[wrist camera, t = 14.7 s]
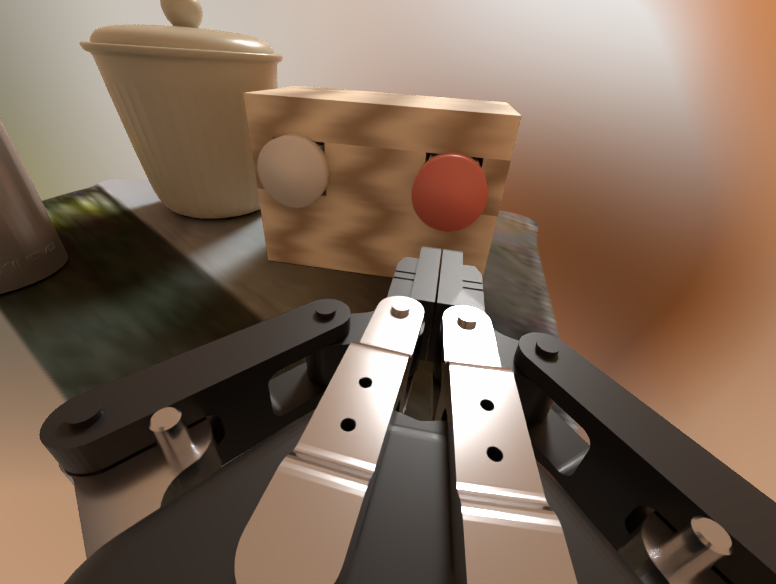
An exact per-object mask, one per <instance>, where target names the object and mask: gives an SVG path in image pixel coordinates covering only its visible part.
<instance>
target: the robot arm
mask: <svg viewBox="0 0 776 584" xmlns="http://www.w3.org/2000/svg"><path fill="white" fill-rule="evenodd" d="M440 256H441V248H434V247H427V246H422V248H421V252H420V257H419V258H412V257H405V258H404V259H402V260H401V261H400V262H398V265H397V268H396V272H395V274H394V278H393V280H392V283H391V286H390V289H389V292H388V295H387V298H385V299H383V300H382V301H381V302H380V303H379V304H378V306H377V308H376V310H374V311H371V312H367V313H354V314H351V313H350V308H349V307H348V306H347V305H346V304H345V303H343V302H341V301H339V300H335V299H320V300H316V301H313V302H310V303H308V304H305V305H303V306H300V307H298V308H295V309H293V310H290V311H288V312H285V313H283V314H280V315H278V316H275V317H273V318H270V319H268V320H265V321H263V322H260V323H258V324H255V325H253V326H250V327H248V328H245V329H243V330H240V331H238V332H235V333H233V334H230V335H228V336H225V337H223V338H220V339H218V340H215V341H213V342H210V343H208V344H205V345H203V346H200V347H198V348H195V349H193V350H190V351H188V352H185V353H183V354H180V355H178V356H175V357H173V358H170V359H168V360H165V361H163V362H160V363H158V364H155V365H153V366H150V367H148V368H145V369H143V370H140V371H138V372H135V373H133V374H130V375H128V376H125V377H123V378H120V379H118V380H115V381H113V382H110V383H108V384H105V385H103V386H100V387H98V388H95V389H93V390H90V391H88V392H85V393H83V394H80V395H78V396H76V397H74V398H72V399H70V400H68V401H67V402H65V403H64V404H62V405H61V406H59V407H58V408H57V409H55V411H53V412H52V413H51V414H50V415H49V416H48V418H47V419H46V420H45V422H44V423H43V425H42V427H41V429H40V440H41V442H42V443H43V444H44V446H45V447H46V448H47V449H48V451H49V452H50V453H51V454H52V455H53V456H54V458H55V459H56V460H57V461H58V463H59V467H60V469H61V471H62V472H63V473H64V474H65V475H66V477H67V478H68V479H69V480H70V481H71V483H72V484H73V485H74V486H75V492H76V498H77V504H78V510H79V516H80V521H81V527H82V533H83V540H84V546H85V551H86V557H87V560H86V561H85V562H84V563H83V564H82V565H81V566H80V567H79V568H78V569H76V570H75V572H74V573H73V574H72V575H71V576H70V577H69V579H68V580H67V581H66V582H65V583H64V584H776V503H775V502H774V501H773V500H772V499H770V498H769V497H768V496H766V495H765V494H764V493H762V492H761V491H759V490H758V489H757V488H755V487H754V486H753V485H752V484H750V483H749V482H748V481H746V480H745V479H744V478H742V477H741V476H740V475H738V474H737V473H736V472H734V471H733V470H731V468H729V467H728V466H727V465H725V464H724V463H722V462H721V461H720V460H719V459H717V458H716V457H714V456H713V455H712V454H711V453H709V452H708V451H707V450H705V449H704V448H703V447H701V446H700V445H699V444H697V443H696V442H695V441H693V440H692V439H691V438H689V437H688V436H687V435H686V434H684V433H683V432H681V431H680V430H679V429H678V428H676V427H675V426H674V425H672V424H671V423H670V422H668V421H667V420H666V419H664V418H663V417H662V416H660V415H659V414H658V413H656V412H655V411H654V410H652V409H651V408H650V407H648V406H647V405H646V404H644V403H643V402H642V401H640V400H639V399H638V398H636V397H635V396H634V395H633V394H631V393H630V392H629V391H627V390H626V389H625V388H623V387H622V386H621V385H619V384H618V383H617V382H615V381H614V380H613V379H611V378H610V377H609V376H607V375H606V374H605V373H603V372H602V371H601V370H599V369H598V368H597V367H595V366H594V365H593V364H591V363H590V362H589V361H588V360H586V359H585V358H584V357H582V356H581V355H580V354H578V353H577V352H576V351H574V350H573V349H572V348H570V347H569V346H568V345H566V344H565V343H564V342H562V341H561V340H559V339H557V338H555V337H553V336H551V335H548V334H544V333H528V334H525V335H523V336H522V337H521V339H520V341H517V340H515V339H512V338H509V337H507V336H504V335H502V334H500V333H499V332H497V331H496V330H494V329H493V328H492V323H491V320H490V319H489V317H488V316H487V315H486V314H485V308H484V296H483V284H482V274H481V273H480V272H479V270H478V269H477V268H476V267H475V266H468V265H463V251H456V250H449V249H443V251H442V257H441V263H440ZM67 260H68V254H67V252H66V250H65V248H64V246H63V244H62V242H61V240H60V238H59V236H58V234H57V232H56V230H55V228H54V226H53V224H52V222H51V220H50V218H49V215H48V213H47V211H46V209H45V207H44V205H43V203H42V201H41V199H40V197H39V195H38V193H37V191H36V189H35V187H34V185H33V183H32V181H31V179H30V177H29V175H28V173H27V171H26V169H25V167H24V165H23V163H22V161H21V159H20V157H19V155H18V153H17V151H16V149H15V147H14V145H13V143H12V141H11V139H10V137H9V135H8V133H7V131H6V129H5V127H4V125H3V123H2V121H1V119H0V294H2V293H5V292H9V291H12V290H16V289H19V288H22V287H25V286H27V285H30V284H33V283H35V282H37V281H40V280H42V279H44V278H46V277H48V276H50V275H51V274H53V273H55V272H56V271H58V270H59V269H60V268H61V267H63V266H64V264H65V263H66V262H67ZM439 264H440V269H439ZM438 272H439V275H438ZM437 280H438V281H437ZM431 322H432V325H431ZM430 328H431V333H430ZM429 334H430V341H429V349H428V357H427V361H430V362H434V364H433V371H432V377H431V392H430V421H419V420H416V419H413V418H411V417H409V416H407V415H405V411H406V408H407V404H408V400H409V396H410V392H411V389H412V385H413V381H414V375H415V372H416V371H417V369H418V364H419V360H424V361H425V357H426V351H427V345H428V339H429ZM304 357H306V362H305V363H303V364H301V365H299V366H297V367H295V368H293V369H291V370H289V371H287V372H285V373H283V374H281V375H279V376H277V377H275V378H273V379H272V380H270V378H271V377H272V376H273V375H274V374H275V373H276V372H277V371H279V370H280V369H282V368H284V367H286V366H288V365H290V364H292V363H294V362H296V361H298V360H300V359H302V358H304ZM269 380H270V381H269ZM553 402H555V403H556V404H557V405H558V406H559V407H561V408H562V409H563V410H564V411H565V412H566V413H567V414H568V415H569V416H570V417H571V418H572V419H574V420H575V421H576V422H577V423H578V424H579V425H580V426H581V427H582V428H583V429H584V430H585V431H586V433H587V435H588V437H589V439H590V445H588V443H586V442H585V441H584V440H583V439H582V438H581V437H580V436H579V435H578V434H577V433H576V432H575V431H574V430H573V429H572V428H571V427H570V426H569V425H568V424H567V423H565V422H564V421H563V420H562V419H561V418H560V417H559V416H558V415H557V414H556V413H555V412H554V411H553V410H552V409H551V406H552V404H553ZM314 409H316V410H315V412H314V413H312V414H309V415H306V414H308V413H309V412H311V411H312V410H314ZM304 415H306V416H304ZM274 433H275V434H274ZM271 435H272V436H271ZM266 438H267V439H266ZM263 440H264V441H263ZM261 441H262V442H261ZM260 442H261V443H260ZM258 443H259V444H258ZM256 444H258V445H256ZM255 445H256V446H255ZM253 446H255V447H253ZM251 447H253V448H251ZM250 448H251V449H250ZM248 449H250V450H248ZM246 450H248V451H247V452H245V451H246ZM243 452H245V453H244V454H242V455H241V456H239V457H238V458H236V459H234V460H233V461H231V462H230V463H228V464H227V465H225V466H224V467H222V468H221V466H222V465H223V464H225V463H227V462H228V461H230V460H232V459H233V458H235V457H237V456H238V455H240V454H241V453H243ZM220 468H221V469H220Z"/></svg>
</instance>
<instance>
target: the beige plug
mask: <svg viewBox="0 0 776 584" xmlns="http://www.w3.org/2000/svg"><path fill="white" fill-rule="evenodd" d="M257 167H258V174H259V178H260V180H261V183H262V185H263V187H264V188H265V190H266V191H267V192H268V194H269V195H270V196H271V197H272V198H273V199H275V200H276V201H277V202H279V203H281V204H283V205H285V206H288V207H293V208H301V207H305V206H308V205H310V204H312V203H313V202H314V201H315V200H316V199H317V198H319V197H320V196H321V195H322V194H323V193H324V191H325V190H326V188H327V186H328V183H329V179H330V168H329V164H328V161H327V158H326V156H325V145H324V142H315V141H312V140H311V139H309V138H308V137H305V136H303V135H300V134H286V135H283V136H280V137H278V138H275V139H273V140H271V141H269V142H268V143H267V144H266V145H265V146H264V147H263V148H262V150H261V152H260V154H259V157H258V166H257Z"/></svg>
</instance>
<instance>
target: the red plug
mask: <svg viewBox="0 0 776 584" xmlns="http://www.w3.org/2000/svg"><path fill="white" fill-rule="evenodd" d="M411 197H412V204H413V208H414V210H415V212H416V214H417V216H418V217H419V218H420V219H421V220H422V221H423V222H424V223H425V224H426V225H428V226H429V227H431V228H433V229H436V230H439V231H446V232H450V231H458V230H461V229H463V228H466V227H468V226H469V225H471V224H472V223H473V222H475V221H476V220H477V219H478V218H479V216H480V215H481V214H482V212H483V210H484V208H485V206H486V203H487V198H488V188H487V182H486V178H485V174H484V172H483V170H482V168H481V167H480V165H479V160H478V157H469V156H467V155H465V154H462V153H458V152H446V153H441V154H437V153H431V155H430V157H429V160H428V161H427V162H426V163H425V164H424V165H423V166H422V167H421V169H420V170H419V172H418V174H417V176H416V179H415V181H414V184H413V187H412V196H411Z"/></svg>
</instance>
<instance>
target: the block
mask: <svg viewBox="0 0 776 584" xmlns="http://www.w3.org/2000/svg"><path fill="white" fill-rule="evenodd" d="M243 94H244V100H245V107H246V114H247V121H248V127H249V134H250V141H251V147H252V154H253V161H254V168H255V174H256V181H257V188H258V195H259V201H260V208H261V215H262V221H263V228H264V235H265V242H266V248H267V255H268V260H271V261H278V262H285V263H292V264H299V265H306V266H314V267H321V268H328V269H335V270H342V271H349V272H356V273H363V274H370V275H377V276H384V277H391V278H394V274H395V272H396V268H397V265H398V262H400V261H401V260H402V259H404V258H405V257H412V258H419V257H420V252H421V248H422V246H427V247H434V248H441V256H440V263H441V257H442V251H443V249H449V250H456V251H463V265H468V266H475V267H476V268H477V269H478V270H479V272H480V273H481V274H482V279H483V275H484V270H485V266H486V262H487V258H488V254H489V250H490V245H491V241H492V237H493V233H494V229H495V224H496V220H497V216H498V212H499V208H500V204H501V199H502V195H503V191H504V186H505V183H506V178H507V174H508V170H509V166H510V162H511V158H512V153H513V149H514V145H515V141H516V137H517V132H518V128H519V124H520V120H521V115H520V114H519V113H518V112H517V111H515V110H514V109H513V108H512V107H511V106H510V105H509V104H508V103H505V102H492V101H480V100H468V99H455V98H442V97H430V96H417V95H405V94H404V95H403V94H390V93H379V92H366V91H353V90H341V89H328V88H315V87H302V86H292V87H285V88H277V89H269V90H261V91H253V92H246V93H243ZM286 134H300V135H303V136H305V137H308V138H309V139H311V140H312V141H315V142H324V145H325V156H326V158H327V161H328V164H329V168H330V179H329V183H328V186H327V188H326V190H325V191H324V193H323V194H322V195H321V196H320V197H319V198H317V199H316V200H315V201H314V202H313V203H312V204H310V205H308V206H305V207H301V208H293V207H288V206H285V205H283V204H281V203H279V202H277V201H276V200H275V199H273V198H272V197H271V196H270V195H269V194H268V192H267V191H266V190H265V188H264V187H263V185H262V183H261V180H260V178H259V174H258V167H257V166H258V157H259V154H260V152H261V150H262V148H263V147H264V146H265V145H266V144H267V143H268V142H269V141H271V140H273V139H275V138H278V137H280V136H283V135H286ZM446 152H458V153H462V154H465V155H467V156H469V157H478V160H479V165H480V167H481V168H482V170H483V172H484V174H485V178H486V182H487V188H488V198H487V203H486V206H485V208H484V210H483V212H482V214H481V215H480V216H479V218H478V219H477V220H476V221H475V222H473V223H472V224H471V225H469V226H468V227H466V228H463V229H461V230H458V231H450V232H446V231H439V230H436V229H433V228H431V227H429V226H428V225H426V224H425V223H424V222H423V221H422V220H421V219H420V218H419V217H418V216H417V214H416V212H415V210H414V208H413V204H412V197H411V196H412V187H413V184H414V181H415V179H416V176H417V174H418V172H419V170H420V169H421V167H422V166H423V165H424V164H425V163H426V162H427V161H428V160H429V157H430V155H431V153H437V154H441V153H446ZM439 269H440V264H439ZM438 275H439V272H438ZM437 281H438V280H437Z"/></svg>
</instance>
